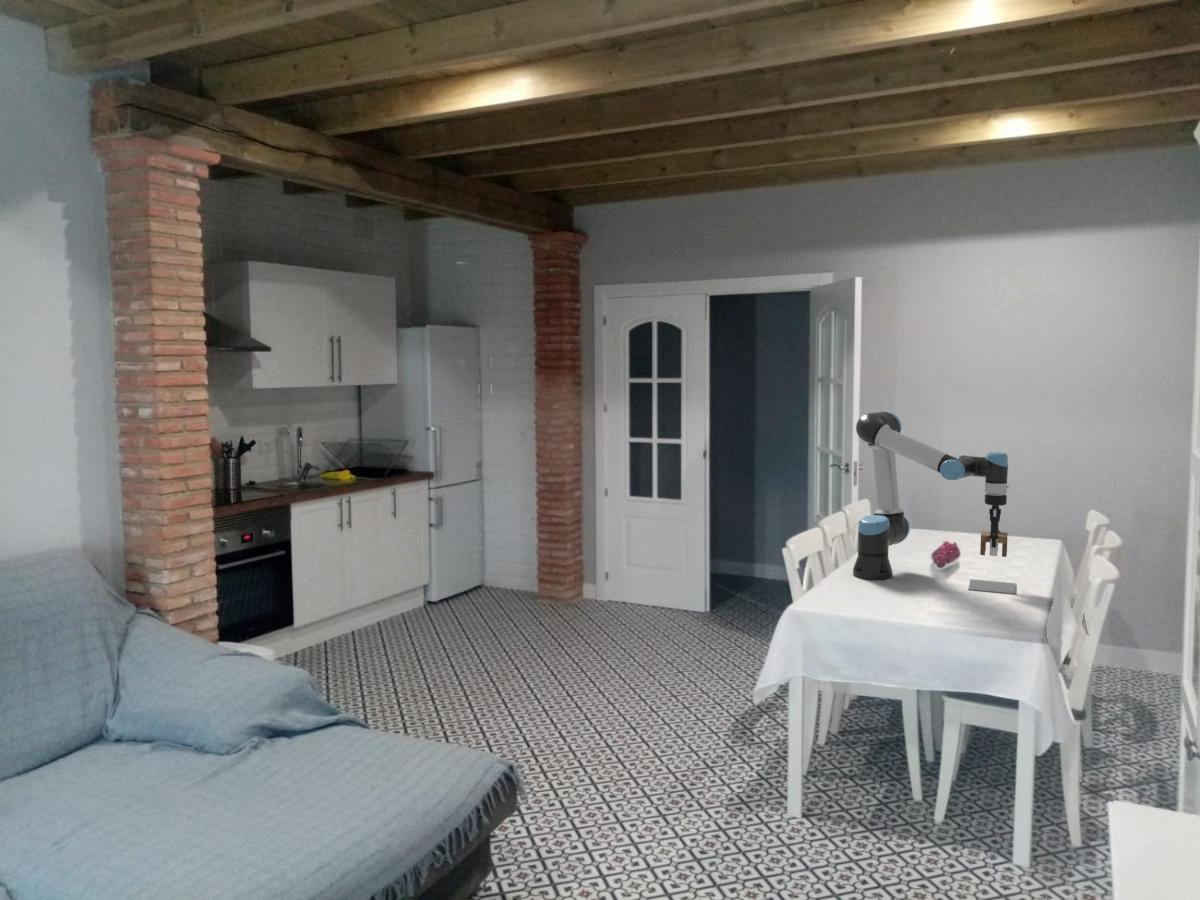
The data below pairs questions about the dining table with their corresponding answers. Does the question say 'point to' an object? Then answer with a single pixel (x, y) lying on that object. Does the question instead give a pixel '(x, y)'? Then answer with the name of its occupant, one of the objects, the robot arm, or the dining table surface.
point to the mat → (992, 586)
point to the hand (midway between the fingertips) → (993, 553)
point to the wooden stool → (1001, 539)
